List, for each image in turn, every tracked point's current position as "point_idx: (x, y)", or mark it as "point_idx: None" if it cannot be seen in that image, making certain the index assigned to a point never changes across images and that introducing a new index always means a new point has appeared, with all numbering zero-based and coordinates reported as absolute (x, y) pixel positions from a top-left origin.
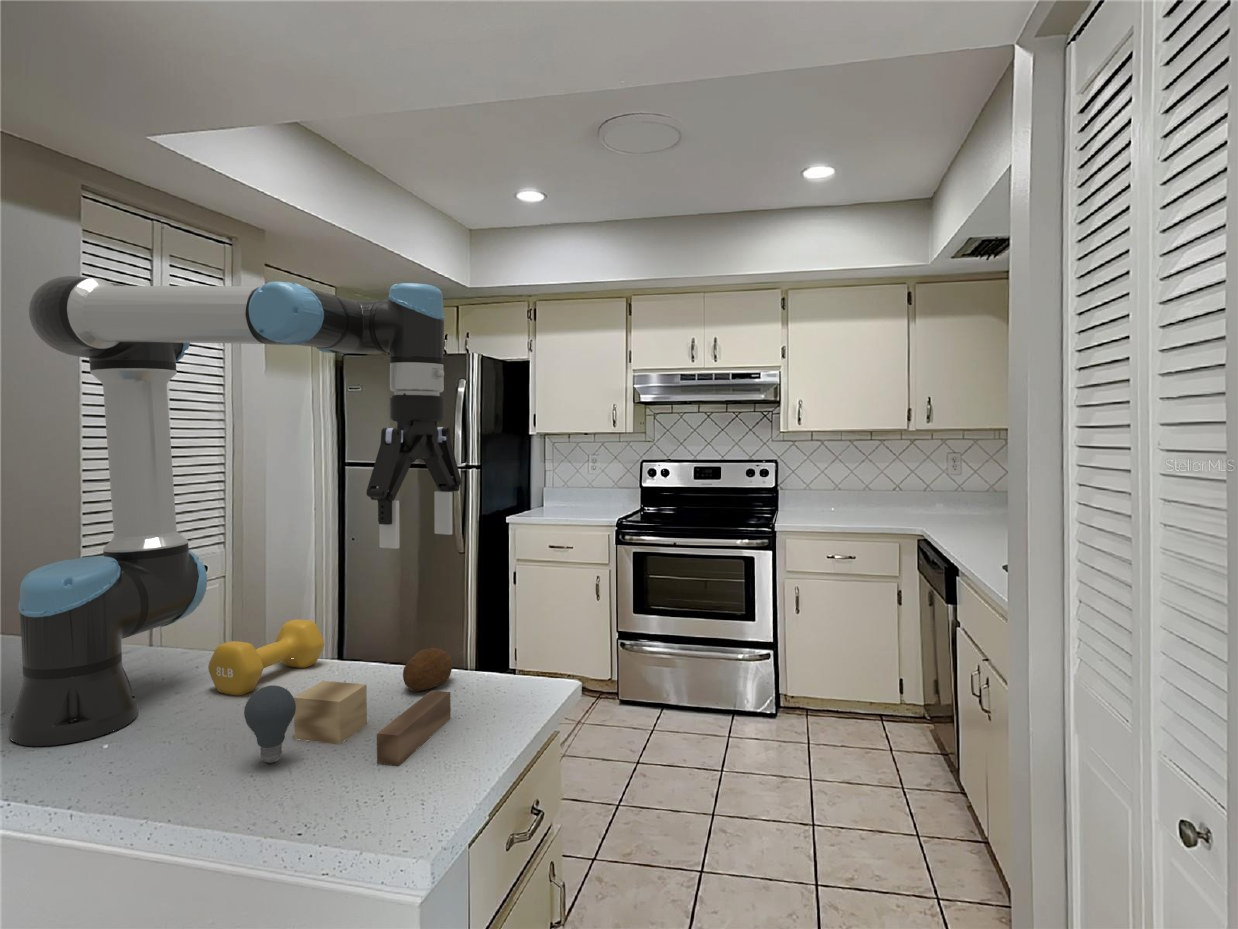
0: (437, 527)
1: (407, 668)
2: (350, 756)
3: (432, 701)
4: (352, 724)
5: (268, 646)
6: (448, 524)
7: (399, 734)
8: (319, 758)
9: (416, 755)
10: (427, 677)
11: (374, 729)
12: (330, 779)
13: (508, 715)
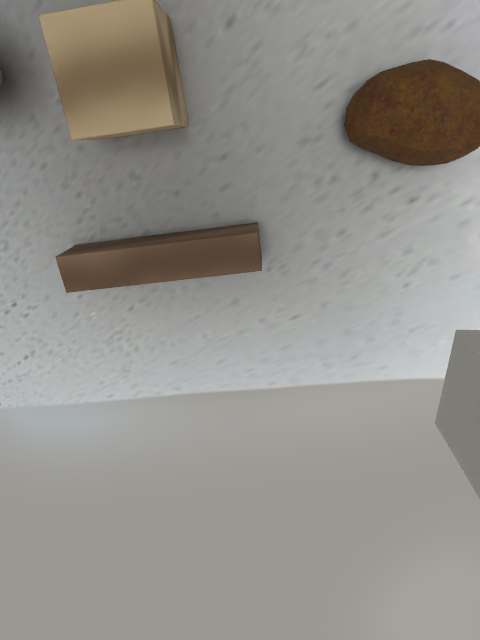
0: (471, 369)
1: (365, 97)
2: (75, 189)
3: (207, 265)
4: (135, 133)
5: None
6: (463, 457)
7: (70, 291)
8: (46, 145)
9: None
10: (367, 149)
11: (174, 156)
12: (8, 212)
13: (304, 335)
